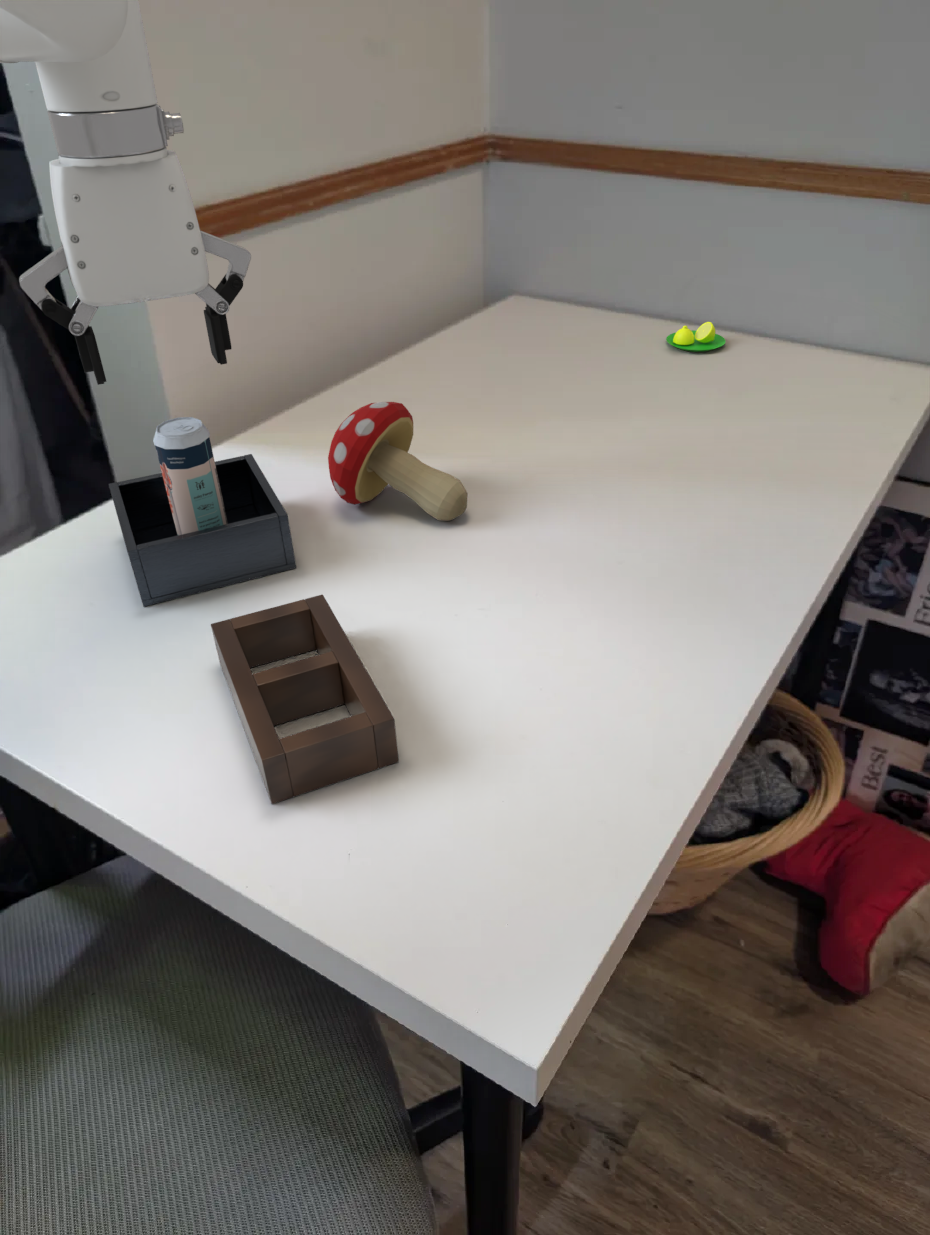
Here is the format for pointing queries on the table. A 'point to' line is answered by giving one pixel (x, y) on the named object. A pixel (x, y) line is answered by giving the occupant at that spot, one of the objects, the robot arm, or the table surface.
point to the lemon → (696, 338)
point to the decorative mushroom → (389, 462)
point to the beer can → (189, 474)
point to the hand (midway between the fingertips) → (161, 369)
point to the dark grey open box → (203, 534)
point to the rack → (303, 697)
